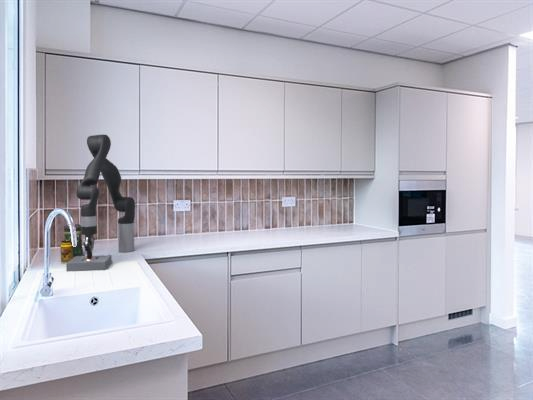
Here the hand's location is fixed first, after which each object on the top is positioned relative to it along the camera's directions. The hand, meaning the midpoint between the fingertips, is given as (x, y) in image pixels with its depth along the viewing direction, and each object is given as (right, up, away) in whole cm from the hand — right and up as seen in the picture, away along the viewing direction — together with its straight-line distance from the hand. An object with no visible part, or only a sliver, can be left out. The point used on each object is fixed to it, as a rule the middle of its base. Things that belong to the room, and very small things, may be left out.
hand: (89, 258), depth 204 cm
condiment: (-17, -4, +11) cm, 21 cm away
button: (0, -4, 0) cm, 4 cm away
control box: (0, -4, 0) cm, 4 cm away
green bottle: (-19, -3, +23) cm, 30 cm away
